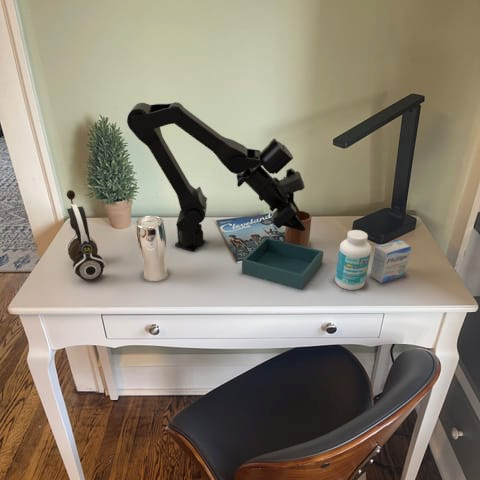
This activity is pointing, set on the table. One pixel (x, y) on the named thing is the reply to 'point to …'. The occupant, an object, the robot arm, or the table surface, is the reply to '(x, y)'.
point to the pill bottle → (353, 260)
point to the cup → (297, 235)
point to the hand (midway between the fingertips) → (303, 224)
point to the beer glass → (152, 246)
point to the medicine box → (390, 261)
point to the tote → (282, 263)
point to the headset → (83, 245)
